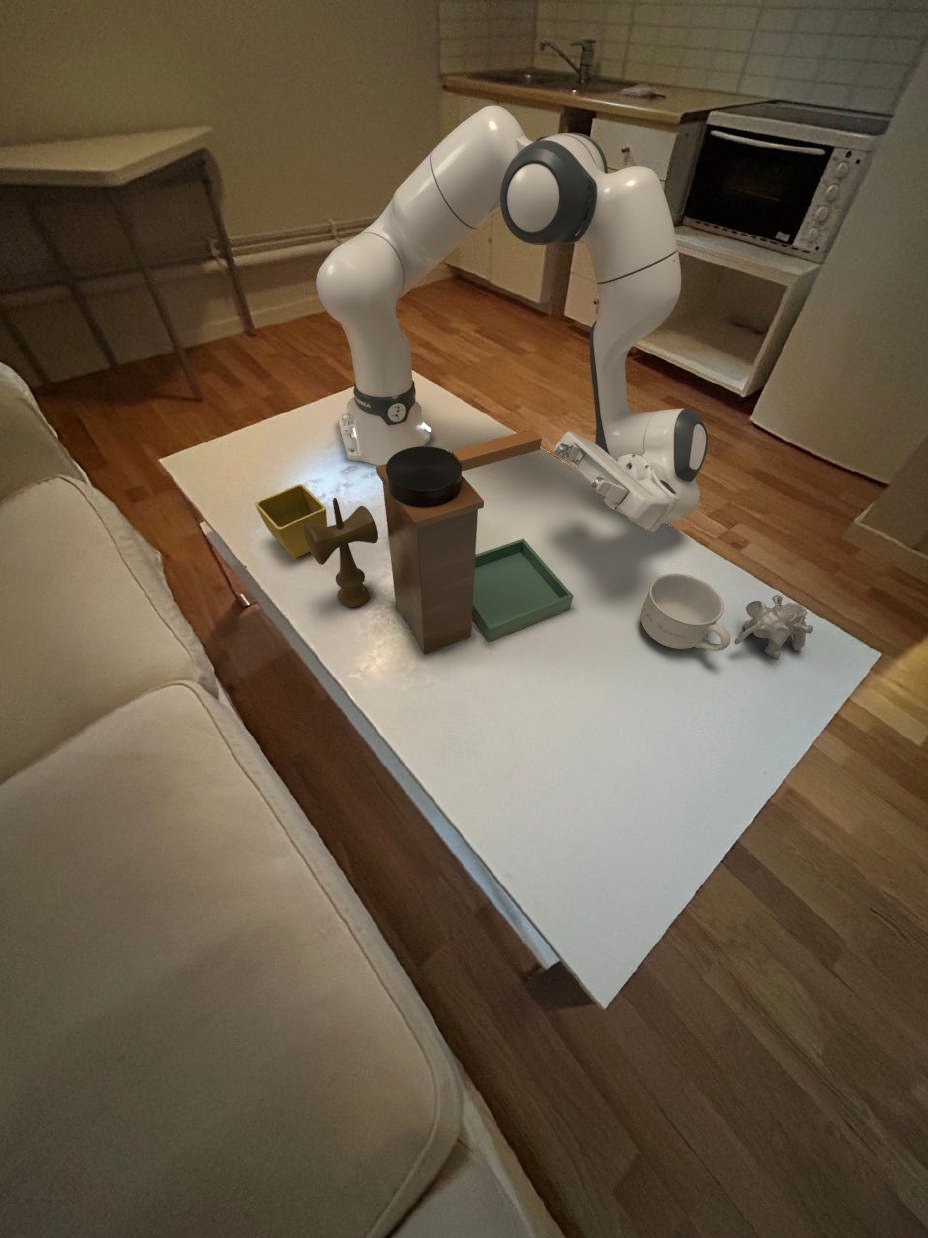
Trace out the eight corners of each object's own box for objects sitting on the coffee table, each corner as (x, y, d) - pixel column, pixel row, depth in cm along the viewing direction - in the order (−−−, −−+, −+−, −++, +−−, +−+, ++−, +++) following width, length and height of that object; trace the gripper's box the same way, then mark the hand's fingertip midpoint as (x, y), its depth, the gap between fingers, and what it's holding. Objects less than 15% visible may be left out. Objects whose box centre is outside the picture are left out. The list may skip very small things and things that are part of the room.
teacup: (622, 615, 87) (635, 580, 81) (678, 598, 90) (695, 563, 84) (672, 683, 79) (691, 650, 73) (733, 662, 82) (756, 629, 75)
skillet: (376, 473, 67) (373, 453, 64) (516, 435, 73) (518, 416, 71) (405, 515, 62) (403, 495, 59) (553, 471, 68) (556, 451, 66)
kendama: (319, 597, 88) (292, 497, 73) (372, 575, 92) (357, 475, 76) (334, 621, 85) (309, 522, 70) (389, 598, 88) (376, 498, 73)
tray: (445, 578, 92) (445, 564, 89) (521, 551, 96) (523, 538, 94) (488, 641, 83) (489, 628, 81) (570, 608, 88) (573, 595, 85)
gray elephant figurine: (807, 642, 84) (833, 610, 79) (770, 685, 79) (796, 654, 73) (752, 609, 89) (773, 576, 83) (713, 647, 83) (733, 615, 77)
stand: (391, 604, 87) (375, 466, 68) (441, 586, 90) (440, 449, 70) (422, 658, 81) (414, 522, 61) (475, 637, 83) (484, 500, 64)
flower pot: (290, 570, 92) (278, 529, 85) (267, 543, 96) (253, 502, 89) (335, 548, 96) (327, 507, 89) (311, 523, 100) (301, 482, 93)
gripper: (603, 434, 89) (548, 410, 80) (688, 504, 78) (636, 485, 69) (580, 467, 93) (526, 447, 84) (660, 539, 81) (606, 526, 72)
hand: (576, 465), depth 76 cm, fingers open, 8 cm apart
